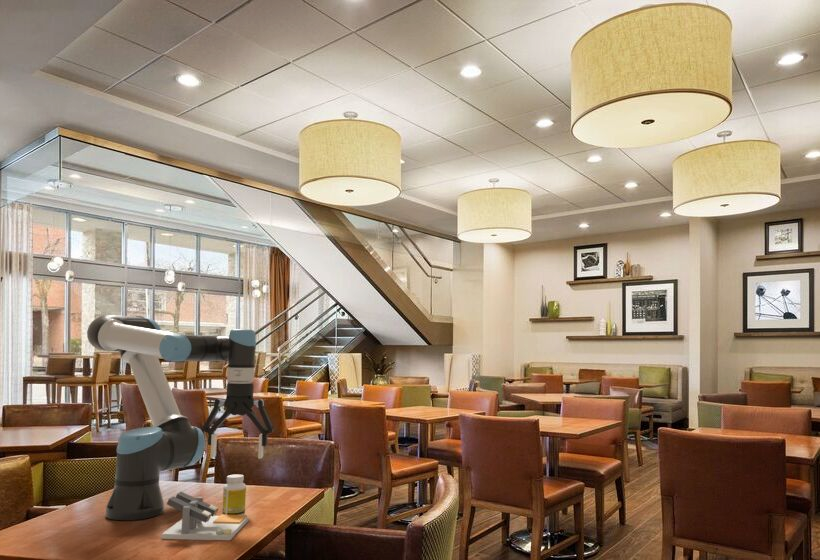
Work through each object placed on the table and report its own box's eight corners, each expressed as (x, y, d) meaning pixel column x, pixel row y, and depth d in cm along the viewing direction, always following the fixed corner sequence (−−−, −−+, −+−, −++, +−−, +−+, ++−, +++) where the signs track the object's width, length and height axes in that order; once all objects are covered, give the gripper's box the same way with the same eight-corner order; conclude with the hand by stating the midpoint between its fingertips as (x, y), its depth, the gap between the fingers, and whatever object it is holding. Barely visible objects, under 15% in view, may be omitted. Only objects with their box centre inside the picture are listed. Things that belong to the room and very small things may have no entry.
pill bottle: (249, 514, 175) (251, 475, 176) (234, 520, 169) (236, 478, 171) (232, 512, 178) (234, 472, 179) (217, 517, 172) (219, 476, 173)
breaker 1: (166, 504, 153) (169, 497, 154) (171, 501, 157) (174, 494, 157) (205, 522, 153) (208, 516, 153) (209, 519, 156) (212, 512, 156)
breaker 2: (174, 499, 159) (177, 492, 159) (179, 496, 162) (181, 490, 162) (212, 516, 158) (215, 510, 159) (216, 513, 162) (219, 507, 162)
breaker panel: (161, 538, 151) (163, 507, 152) (186, 519, 169) (188, 491, 170) (230, 540, 151) (231, 508, 152) (248, 520, 169) (249, 492, 170)
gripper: (193, 382, 174) (188, 458, 172) (280, 383, 174) (277, 460, 171) (202, 381, 181) (197, 454, 179) (285, 382, 181) (283, 455, 179)
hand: (236, 457), depth 175 cm, fingers open, 13 cm apart
